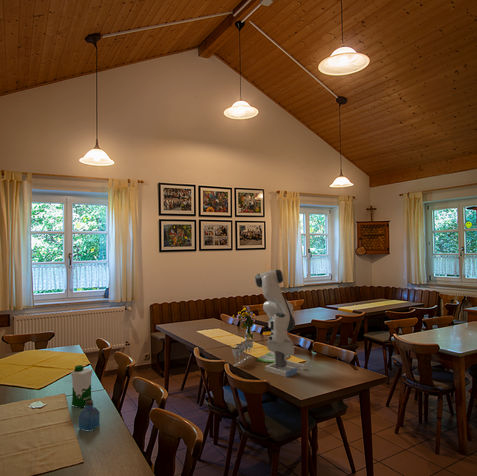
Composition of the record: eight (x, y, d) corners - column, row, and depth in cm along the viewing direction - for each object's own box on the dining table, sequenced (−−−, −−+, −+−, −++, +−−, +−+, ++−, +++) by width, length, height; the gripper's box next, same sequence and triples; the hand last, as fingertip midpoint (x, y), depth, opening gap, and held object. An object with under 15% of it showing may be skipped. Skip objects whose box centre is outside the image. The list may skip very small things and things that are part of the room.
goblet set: (238, 366, 259) (238, 347, 260) (230, 365, 262) (230, 346, 262) (254, 356, 284) (254, 338, 285) (247, 355, 287) (247, 338, 287)
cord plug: (280, 364, 251) (280, 349, 251) (286, 366, 248) (286, 350, 248) (275, 366, 248) (275, 351, 248) (281, 367, 244) (281, 352, 244)
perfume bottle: (78, 429, 171) (79, 403, 171) (88, 423, 177) (88, 398, 177) (89, 432, 169) (89, 405, 169) (99, 425, 174) (99, 399, 175)
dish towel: (291, 357, 282) (290, 352, 282) (276, 365, 262) (276, 360, 262) (270, 354, 291) (270, 349, 291) (255, 361, 272) (255, 357, 272)
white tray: (284, 363, 265) (284, 358, 265) (306, 369, 251) (306, 364, 251) (264, 370, 250) (264, 365, 251) (287, 377, 237) (287, 371, 237)
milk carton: (81, 400, 204) (82, 363, 204) (94, 403, 200) (94, 365, 201) (69, 406, 196) (69, 368, 196) (82, 409, 192) (82, 370, 193)
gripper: (296, 339, 243) (296, 361, 243) (272, 335, 258) (272, 355, 257) (290, 341, 239) (290, 363, 238) (265, 336, 253) (266, 357, 253)
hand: (280, 359), depth 248 cm, fingers closed on cord plug, 5 cm apart
